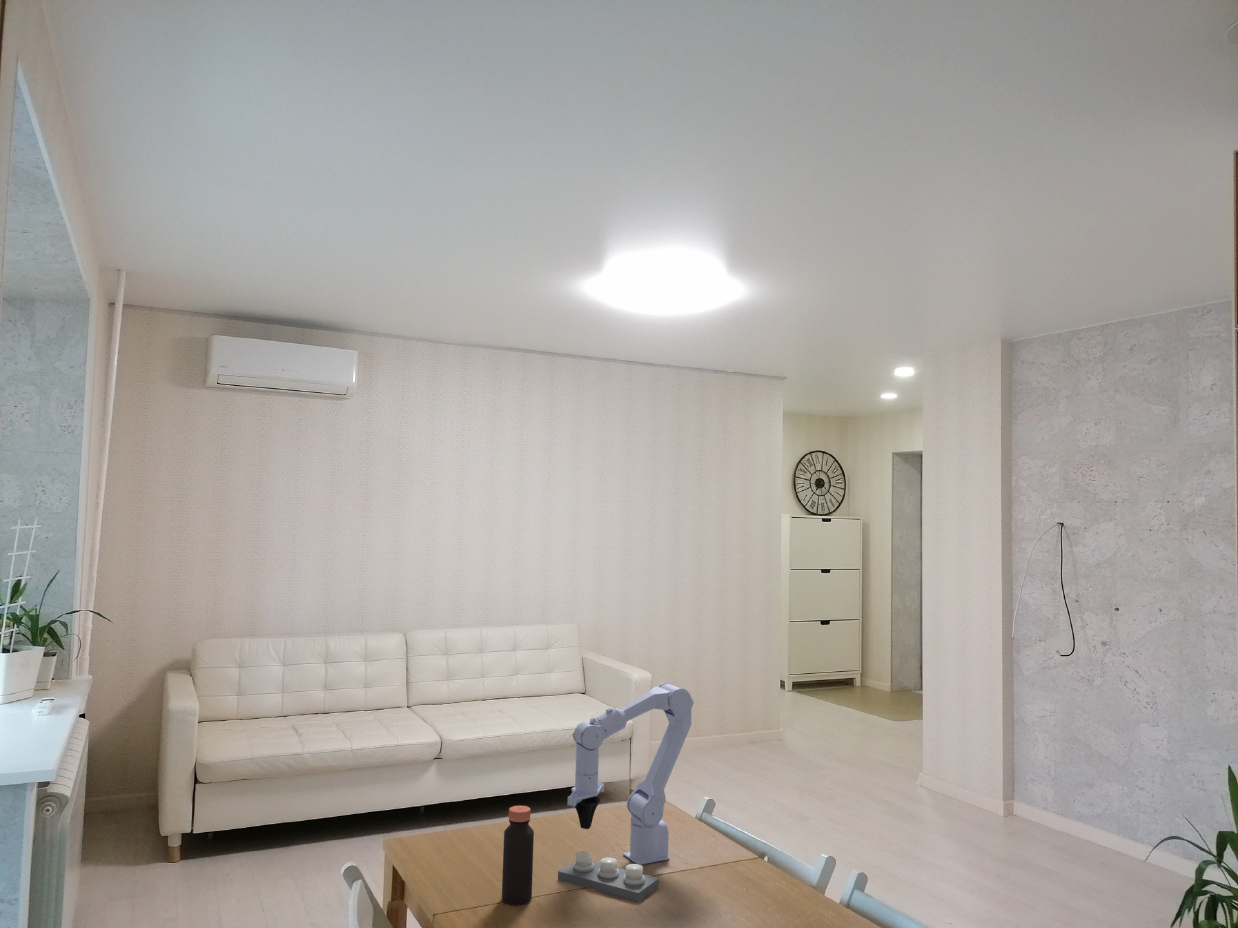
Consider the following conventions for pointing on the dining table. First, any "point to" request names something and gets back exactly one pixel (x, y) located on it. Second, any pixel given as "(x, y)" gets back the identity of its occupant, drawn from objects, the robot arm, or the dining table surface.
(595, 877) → the knob panel
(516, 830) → the bottle
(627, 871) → the knob
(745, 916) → the dining table surface
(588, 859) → the knob
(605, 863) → the knob
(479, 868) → the dining table surface
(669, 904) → the dining table surface
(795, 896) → the dining table surface
